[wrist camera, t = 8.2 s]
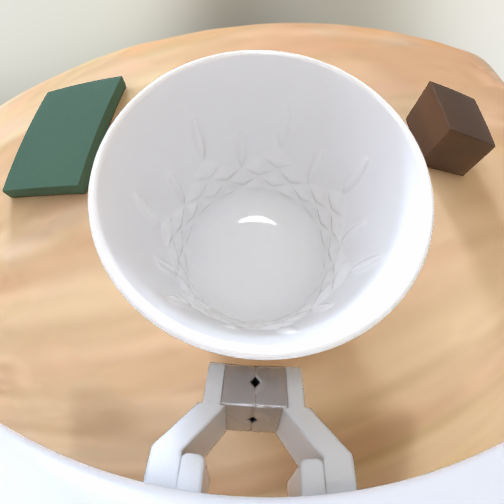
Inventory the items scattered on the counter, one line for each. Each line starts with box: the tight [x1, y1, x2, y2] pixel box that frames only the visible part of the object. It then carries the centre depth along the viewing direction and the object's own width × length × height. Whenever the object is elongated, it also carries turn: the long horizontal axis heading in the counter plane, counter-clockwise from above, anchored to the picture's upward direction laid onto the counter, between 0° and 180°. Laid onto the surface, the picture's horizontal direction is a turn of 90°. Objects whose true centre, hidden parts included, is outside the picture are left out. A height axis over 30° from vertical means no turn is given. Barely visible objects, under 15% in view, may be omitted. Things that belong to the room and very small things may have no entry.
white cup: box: [88, 50, 434, 360], centre depth 11 cm, size 8×8×10 cm
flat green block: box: [3, 76, 126, 197], centre depth 17 cm, size 8×10×1 cm
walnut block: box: [406, 81, 495, 176], centre depth 16 cm, size 4×4×4 cm
